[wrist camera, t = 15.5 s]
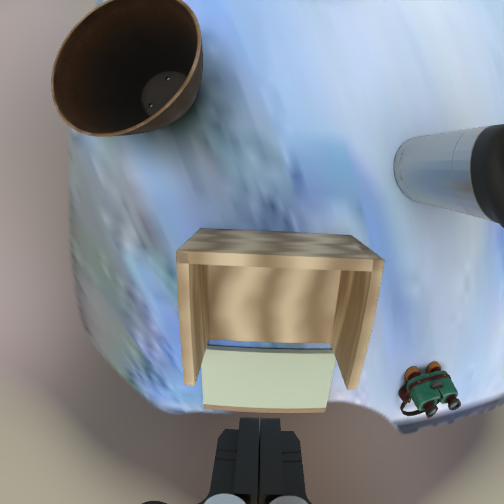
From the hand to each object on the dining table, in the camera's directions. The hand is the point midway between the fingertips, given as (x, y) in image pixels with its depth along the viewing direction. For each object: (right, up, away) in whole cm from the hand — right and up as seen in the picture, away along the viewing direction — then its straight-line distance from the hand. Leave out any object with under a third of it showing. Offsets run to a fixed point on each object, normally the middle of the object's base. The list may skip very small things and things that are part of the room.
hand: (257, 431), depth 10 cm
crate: (+3, +2, +31) cm, 32 cm away
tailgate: (+2, -7, +33) cm, 34 cm away
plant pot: (-11, +28, +25) cm, 39 cm away
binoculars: (+30, -17, +36) cm, 50 cm away
